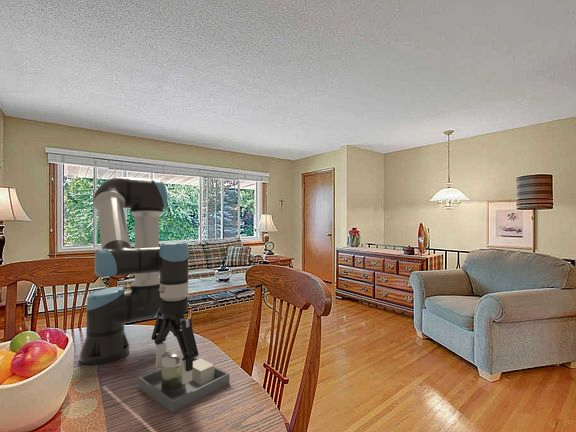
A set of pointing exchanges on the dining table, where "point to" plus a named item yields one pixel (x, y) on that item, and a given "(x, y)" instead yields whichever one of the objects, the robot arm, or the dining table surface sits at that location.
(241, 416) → the dining table surface
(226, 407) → the dining table surface
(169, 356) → the tin can
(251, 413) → the dining table surface
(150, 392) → the tray
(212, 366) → the cream rectangular block
